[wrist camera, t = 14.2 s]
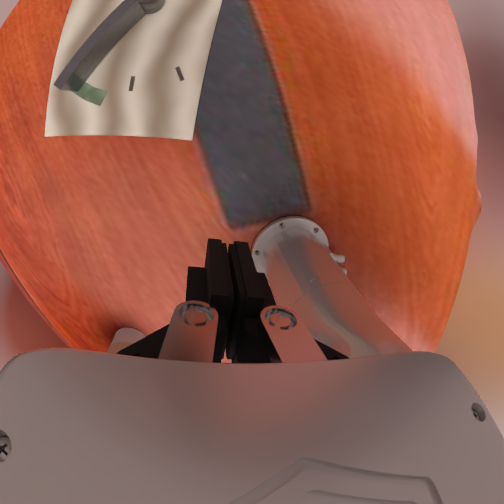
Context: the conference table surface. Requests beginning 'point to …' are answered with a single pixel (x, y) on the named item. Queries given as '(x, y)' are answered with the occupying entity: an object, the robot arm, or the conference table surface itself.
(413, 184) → the conference table surface
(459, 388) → the robot arm
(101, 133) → the dial plate
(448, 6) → the conference table surface
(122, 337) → the coffee cup
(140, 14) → the pointer lever
